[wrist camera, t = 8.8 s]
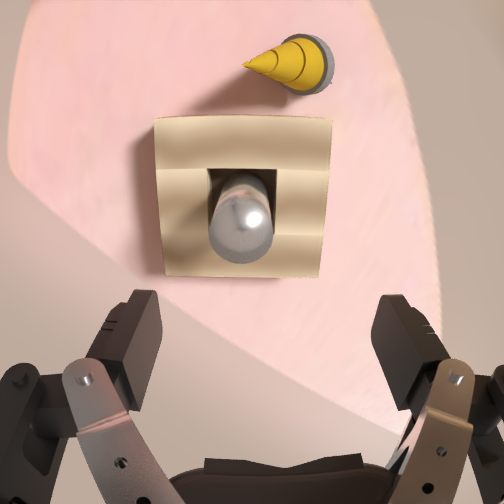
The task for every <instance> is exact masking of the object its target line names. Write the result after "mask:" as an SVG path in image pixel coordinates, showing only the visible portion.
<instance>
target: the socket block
mask: <svg viewBox="0 0 504 504" xmlns="http://www.w3.org/2000/svg"><path fill="white" fill-rule="evenodd" d="M332 122H333V120H329V119H324V118H315V117H300V116H280V115H191V116H171V117H162V118H157V119H154V144H155V164H156V181H157V195H158V207H159V219H160V230H161V240H162V249H163V258H164V267H165V275H166V276H204V277H259V278H318V276H319V268H320V260H321V251H322V243H323V234H324V224H325V214H326V204H327V193H328V181H329V169H330V155H331V140H332ZM238 171H251V172H253V173H255V174H257V175H259V176H260V177H261V178H262V179H263V181H264V183H265V185H266V189H267V195H268V201H269V208H270V214H271V220H272V227H273V241H272V244H271V247H270V248H269V250H268V251H267V253H266V254H265V255H264V256H263V257H261V258H260V259H258V260H256V261H254V262H251V263H247V264H236V263H231V262H228V261H226V260H224V259H223V258H221V257H220V256H219V255H218V254H217V253H216V252H215V251H214V250H213V248H212V246H211V244H210V241H209V227H210V224H211V221H212V218H213V215H214V212H215V209H216V206H217V203H218V200H219V197H220V194H221V191H222V188H223V185H224V183H225V181H226V180H227V178H228V177H229V176H230V175H232V174H233V173H236V172H238Z"/></svg>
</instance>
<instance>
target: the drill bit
mask: <svg viewBox="0 0 504 504" xmlns="http://www.w3.org/2000/svg"><path fill="white" fill-rule="evenodd" d="M242 66H244V67H246V68H249V69H251V70H253V71H256V72H258V73H260V74H263V75H265V76H267V77H269V78H272V79H274V80H276V81H278V82H280V83H282V84H283V85H284V86H285V87H286V88H287V89H288V90H289V91H291V92H292V93H295V94H298V95H311V94H316V93H319V92H321V91H323V90H324V89H325V88H326V87H327V86H328V85H329V84H332V82H331V80H332V78H333V74H334V67H335V64H334V58H333V54H332V52H331V50H330V48H329V47H328V45H327V44H326V43H325V42H324V41H323V40H322V39H320V38H318V37H316V36H313V35H307V34H295V35H292V36H290V37H288V38H287V39H285V40H284V42H283V43H282V44H281V45H280V46H277V47H275V48H273V49H271V50H269V51H267V52H265V53H263V54H261V55H259V56H257V57H255V58H253V59H251V62H248V61H247V62H245V63H244V64H242Z"/></svg>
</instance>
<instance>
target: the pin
mask: <svg viewBox="0 0 504 504" xmlns="http://www.w3.org/2000/svg"><path fill="white" fill-rule="evenodd" d="M209 241H210V244H211V246H212V248H213V250H214V251H215V252H216V253H217V254H218V255H219V256H220V257H221V258H223V259H224V260H226V261H228V262H231V263H236V264H247V263H251V262H254V261H256V260H258V259H260V258H261V257H263V256H264V255H265V254H266V253H267V251H268V250H269V248H270V247H271V244H272V241H273V227H272V220H271V214H270V208H269V201H268V195H267V189H266V185H265V183H264V181H263V179H262V178H261V177H260V176H259V175H257V174H255V173H253V172H251V171H238V172H236V173H233V174H232V175H230V176H229V177H228V178H227V180H226V181H225V183H224V185H223V188H222V191H221V194H220V197H219V200H218V203H217V206H216V209H215V212H214V215H213V218H212V221H211V224H210V227H209Z"/></svg>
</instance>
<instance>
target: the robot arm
mask: <svg viewBox="0 0 504 504" xmlns="http://www.w3.org/2000/svg"><path fill="white" fill-rule="evenodd" d="M161 340H162V321H161V315H160V310H159V303H158V297H157V293H156V291H155V290H134V291H133V293H132V295H131V296H130V298H129V300H128V302H127V303H122V302H121V303H119V304H118V305H117V306H116V307H114V308H113V309H112V310H111V311H110V313H109V314H108V316H107V318H106V320H105V322H104V324H103V325H102V327H101V330H99V332H98V334H97V336H96V338H95V340H94V341H93V343H92V345H91V347H90V349H89V351H88V353H87V355H86V357H85V358H82V359H78V360H76V361H74V362H72V363H70V364H69V365H68V366H67V367H66V368H65V370H64V371H63V373H62V374H52V375H40V374H39V372H38V370H37V369H36V367H35V366H33V365H32V364H29V363H19V364H16V365H14V366H12V367H11V368H9V369H8V370H7V371H6V372H5V374H4V375H3V377H2V379H1V380H0V504H50V500H51V497H52V492H53V489H54V485H55V482H56V478H57V474H58V471H59V467H60V464H61V461H62V457H63V454H64V451H65V447H66V444H67V441H68V438H70V437H77V438H78V441H79V444H80V446H81V449H82V452H83V454H84V456H85V459H86V461H87V464H88V466H89V468H90V471H91V473H92V475H93V477H94V480H95V482H96V484H97V486H98V488H99V490H100V492H101V494H102V497H103V499H104V501H105V503H106V504H452V503H453V500H454V497H455V494H456V491H457V488H458V485H459V482H460V478H461V475H462V472H463V468H464V464H465V461H466V457H467V454H468V456H469V459H470V462H471V465H472V468H473V471H474V474H475V477H476V480H477V484H478V487H479V490H480V493H481V497H482V500H483V504H504V442H503V439H502V437H501V435H500V432H499V430H498V428H497V424H498V423H499V422H500V421H501V419H502V420H503V422H504V365H500V366H498V367H497V368H496V369H495V371H494V372H493V374H492V376H484V375H475V374H474V372H473V370H472V369H471V367H469V366H468V365H467V364H466V363H464V362H463V361H460V360H457V359H451V357H450V356H449V354H448V352H447V351H446V349H445V347H444V346H443V344H442V343H441V341H440V339H439V338H438V336H437V335H436V334H435V331H434V330H433V328H432V327H431V326H430V324H429V322H428V321H427V319H426V317H425V316H424V315H423V314H422V313H421V312H419V311H418V310H417V309H416V308H414V307H411V306H410V305H409V303H408V302H407V300H406V299H405V297H404V296H403V295H401V294H399V295H382V296H381V298H380V301H379V304H378V308H377V312H376V315H375V319H374V322H373V325H372V329H371V341H372V345H373V348H374V350H375V352H376V355H377V357H378V360H379V362H380V365H381V367H382V370H383V372H384V375H385V377H386V380H387V382H388V385H389V388H390V390H391V393H392V396H393V398H394V401H395V404H396V406H397V409H398V411H401V410H407V409H410V410H411V413H412V414H411V416H410V417H409V419H408V421H407V424H406V426H405V428H404V431H403V433H402V435H401V438H400V440H399V442H398V444H397V446H396V448H395V451H394V453H393V455H392V457H391V459H390V460H389V462H388V464H387V465H386V467H385V468H384V467H381V466H377V465H373V464H368V463H363V460H362V456H361V453H358V454H350V455H341V456H332V457H324V458H321V459H318V460H314V461H311V462H307V463H304V464H301V465H297V466H293V467H289V468H280V467H275V466H270V465H264V464H260V463H256V462H251V461H247V460H231V459H211V458H205V462H204V468H198V469H194V470H190V471H186V472H183V473H181V474H178V475H176V476H174V477H172V478H171V479H169V480H168V478H167V477H166V475H165V474H164V472H163V470H162V469H161V467H160V466H159V464H158V463H157V461H156V460H155V458H154V456H153V455H152V453H151V451H150V450H149V448H148V446H147V445H146V443H145V442H144V440H143V438H142V436H141V434H140V433H139V431H138V429H137V428H136V426H135V424H134V422H133V420H132V418H131V417H130V415H129V413H128V412H129V410H133V411H140V409H141V406H142V403H143V399H144V396H145V392H146V389H147V386H148V382H149V379H150V376H151V373H152V369H153V366H154V363H155V359H156V357H157V353H158V350H159V347H160V344H161Z"/></svg>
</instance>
